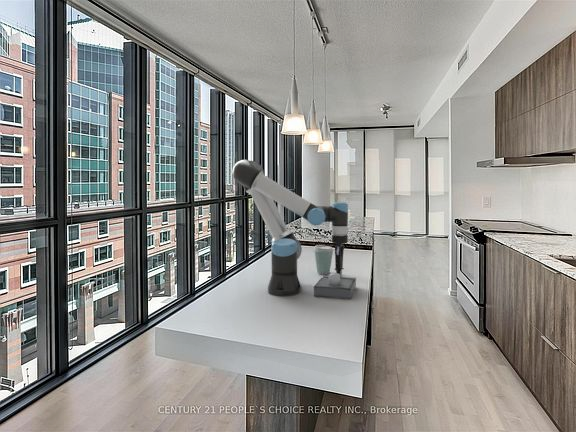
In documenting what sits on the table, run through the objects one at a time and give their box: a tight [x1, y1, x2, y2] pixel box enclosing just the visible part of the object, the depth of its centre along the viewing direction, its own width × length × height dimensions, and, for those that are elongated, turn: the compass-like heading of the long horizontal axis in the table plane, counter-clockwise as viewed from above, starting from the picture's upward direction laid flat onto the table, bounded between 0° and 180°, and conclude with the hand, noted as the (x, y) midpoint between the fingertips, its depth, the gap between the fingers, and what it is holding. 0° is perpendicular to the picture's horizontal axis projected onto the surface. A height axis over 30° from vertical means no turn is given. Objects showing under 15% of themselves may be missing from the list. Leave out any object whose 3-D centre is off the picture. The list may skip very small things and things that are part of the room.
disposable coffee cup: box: [313, 244, 334, 276], centre depth 212 cm, size 11×11×15 cm
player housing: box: [313, 272, 356, 300], centre depth 175 cm, size 16×16×9 cm
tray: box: [322, 275, 357, 288], centre depth 179 cm, size 16×16×4 cm
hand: (338, 283), depth 188 cm, fingers closed
